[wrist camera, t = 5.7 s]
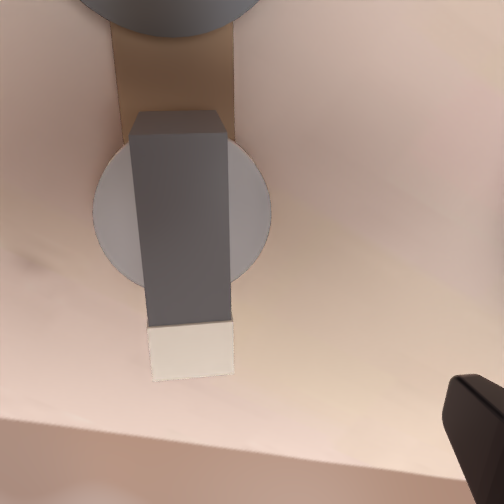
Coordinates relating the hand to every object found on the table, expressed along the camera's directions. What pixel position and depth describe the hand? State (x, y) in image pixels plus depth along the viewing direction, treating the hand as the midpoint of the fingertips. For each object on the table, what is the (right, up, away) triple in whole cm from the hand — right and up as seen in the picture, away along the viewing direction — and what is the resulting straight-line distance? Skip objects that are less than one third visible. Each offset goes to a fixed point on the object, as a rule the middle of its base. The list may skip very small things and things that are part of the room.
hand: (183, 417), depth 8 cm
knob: (-2, +4, +11) cm, 12 cm away
